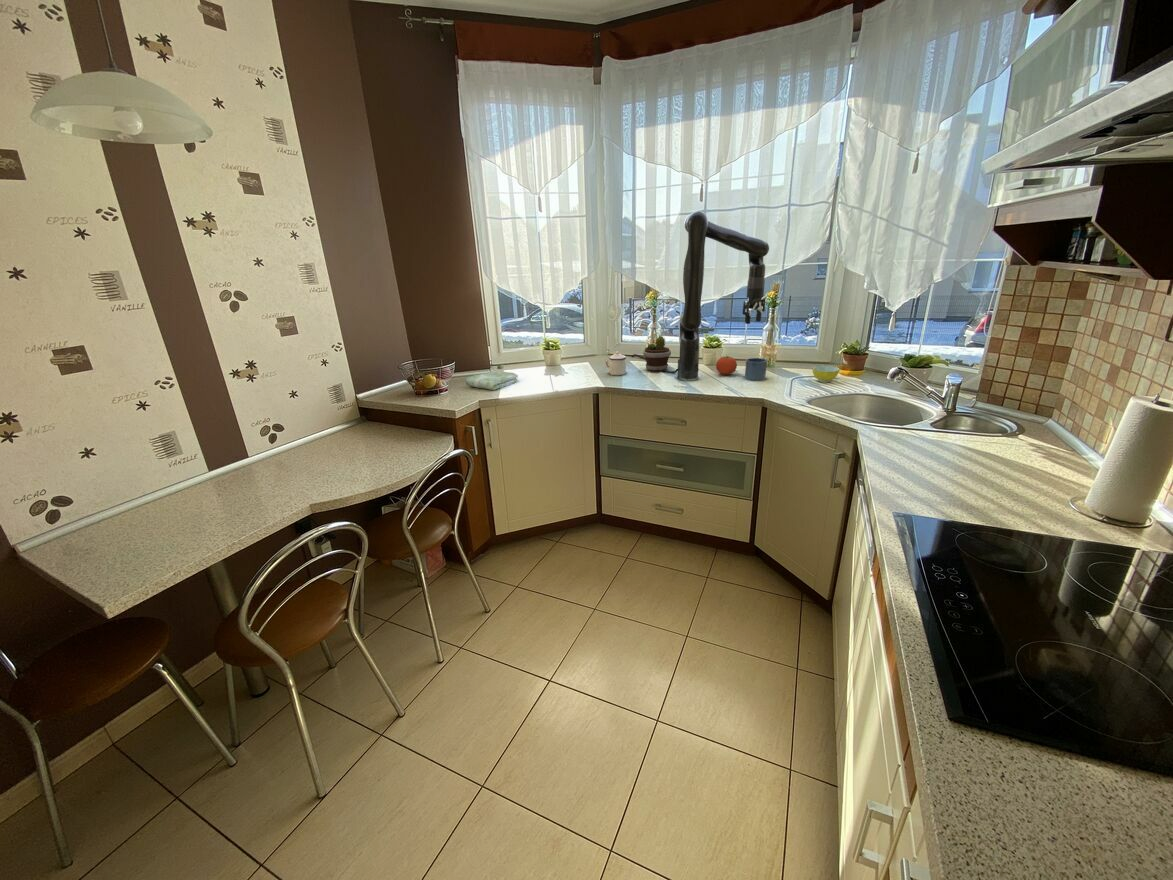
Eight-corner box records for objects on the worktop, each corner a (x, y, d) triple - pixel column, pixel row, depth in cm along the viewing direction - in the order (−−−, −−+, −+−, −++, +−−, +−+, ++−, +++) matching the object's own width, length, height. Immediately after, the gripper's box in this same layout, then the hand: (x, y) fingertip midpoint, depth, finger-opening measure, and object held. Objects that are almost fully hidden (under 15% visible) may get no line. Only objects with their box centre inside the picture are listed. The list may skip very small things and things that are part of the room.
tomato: (739, 373, 242) (741, 354, 239) (730, 377, 235) (732, 357, 231) (720, 371, 249) (721, 352, 245) (711, 375, 241) (712, 355, 238)
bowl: (811, 383, 218) (813, 370, 216) (810, 377, 228) (811, 365, 226) (839, 385, 215) (841, 371, 212) (836, 378, 225) (838, 365, 222)
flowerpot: (638, 368, 262) (638, 332, 255) (663, 365, 266) (664, 329, 259) (649, 374, 249) (649, 336, 242) (675, 371, 253) (676, 333, 246)
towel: (519, 381, 249) (519, 371, 247) (493, 391, 232) (491, 381, 230) (493, 378, 257) (492, 368, 256) (465, 388, 241) (464, 378, 239)
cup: (740, 378, 233) (742, 360, 230) (752, 375, 238) (753, 357, 235) (757, 381, 226) (759, 363, 223) (769, 378, 231) (771, 359, 228)
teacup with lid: (629, 372, 255) (629, 350, 251) (620, 376, 248) (620, 354, 244) (610, 370, 262) (609, 349, 257) (601, 374, 255) (600, 352, 251)
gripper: (757, 285, 228) (755, 320, 234) (739, 288, 221) (737, 323, 226) (771, 286, 223) (768, 321, 229) (753, 288, 215) (750, 325, 221)
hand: (752, 322), depth 228 cm, fingers open, 8 cm apart
